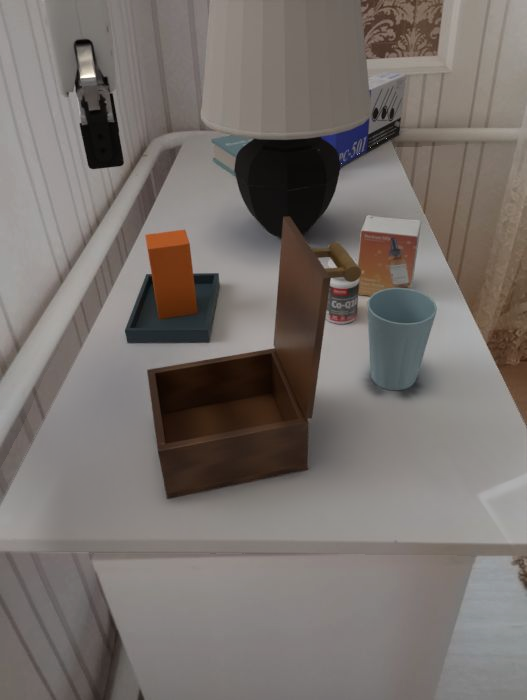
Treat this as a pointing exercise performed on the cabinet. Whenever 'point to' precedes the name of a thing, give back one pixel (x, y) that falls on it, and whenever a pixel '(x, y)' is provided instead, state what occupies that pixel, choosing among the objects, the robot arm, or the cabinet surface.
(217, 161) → the book
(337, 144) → the ink box
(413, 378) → the cup
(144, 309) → the tray
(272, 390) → the chest
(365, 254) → the small box
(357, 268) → the lid
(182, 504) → the cabinet surface
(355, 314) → the pill bottle
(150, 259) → the block
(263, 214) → the table lamp
